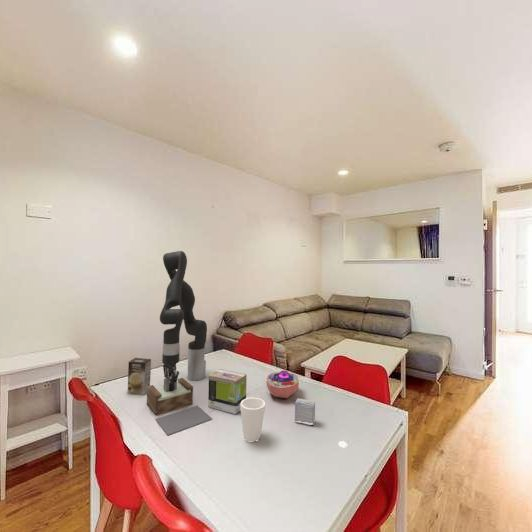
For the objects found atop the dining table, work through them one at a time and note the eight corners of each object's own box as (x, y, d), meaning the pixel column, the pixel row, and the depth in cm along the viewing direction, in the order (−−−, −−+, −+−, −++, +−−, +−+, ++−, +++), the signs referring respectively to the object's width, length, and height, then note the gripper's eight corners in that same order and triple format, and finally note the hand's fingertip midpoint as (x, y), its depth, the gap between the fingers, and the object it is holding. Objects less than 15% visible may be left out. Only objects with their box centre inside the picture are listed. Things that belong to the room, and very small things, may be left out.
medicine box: (315, 421, 119) (315, 401, 119) (313, 427, 115) (313, 405, 115) (296, 417, 122) (297, 397, 122) (294, 423, 118) (294, 402, 118)
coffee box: (126, 393, 140) (127, 361, 140) (133, 388, 146) (134, 357, 146) (144, 395, 139) (145, 362, 139) (150, 389, 145) (151, 358, 145)
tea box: (246, 405, 132) (247, 373, 132) (235, 415, 123) (236, 381, 123) (219, 398, 138) (220, 368, 138) (207, 407, 129) (208, 375, 129)
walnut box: (182, 394, 140) (182, 377, 140) (192, 404, 131) (193, 386, 131) (146, 404, 130) (147, 386, 130) (155, 415, 120) (155, 396, 120)
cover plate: (180, 383, 140) (180, 371, 140) (190, 392, 131) (191, 379, 131) (149, 391, 130) (149, 378, 130) (158, 401, 121) (158, 387, 121)
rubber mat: (197, 406, 130) (197, 405, 130) (212, 419, 119) (212, 418, 119) (155, 419, 117) (155, 418, 117) (167, 435, 107) (167, 434, 107)
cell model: (259, 400, 137) (259, 376, 137) (273, 384, 156) (274, 364, 156) (292, 407, 131) (293, 383, 131) (303, 390, 149) (304, 369, 149)
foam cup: (255, 448, 101) (256, 412, 101) (234, 439, 106) (235, 404, 106) (268, 435, 109) (269, 401, 109) (249, 427, 114) (250, 395, 114)
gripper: (185, 354, 127) (184, 392, 127) (173, 347, 138) (172, 382, 138) (168, 357, 123) (167, 397, 123) (157, 349, 133) (156, 386, 133)
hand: (170, 389), depth 130 cm, fingers closed on cover plate, 3 cm apart
